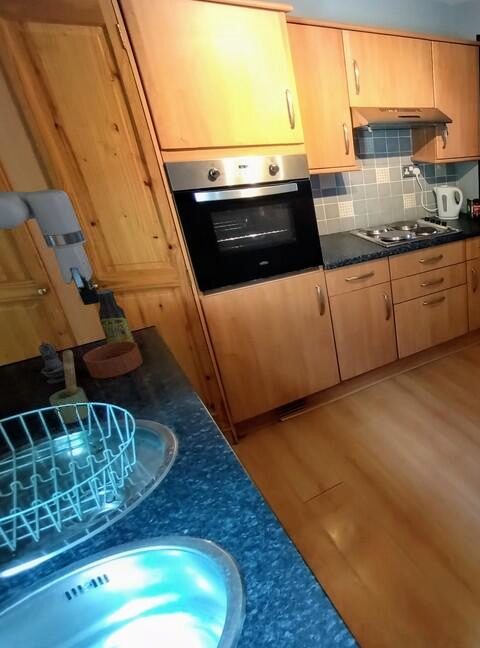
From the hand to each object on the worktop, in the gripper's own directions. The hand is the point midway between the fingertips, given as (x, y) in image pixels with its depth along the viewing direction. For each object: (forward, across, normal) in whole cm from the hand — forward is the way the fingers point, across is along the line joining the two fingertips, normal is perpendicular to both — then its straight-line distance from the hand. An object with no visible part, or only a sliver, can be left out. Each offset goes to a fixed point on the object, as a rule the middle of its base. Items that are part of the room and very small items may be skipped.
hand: (92, 302), depth 125 cm
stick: (+21, +23, -8) cm, 32 cm away
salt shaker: (+21, -3, -14) cm, 25 cm away
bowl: (+21, 0, 0) cm, 21 cm away
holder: (+21, +23, -8) cm, 32 cm away
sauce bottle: (+22, -14, 0) cm, 26 cm away
